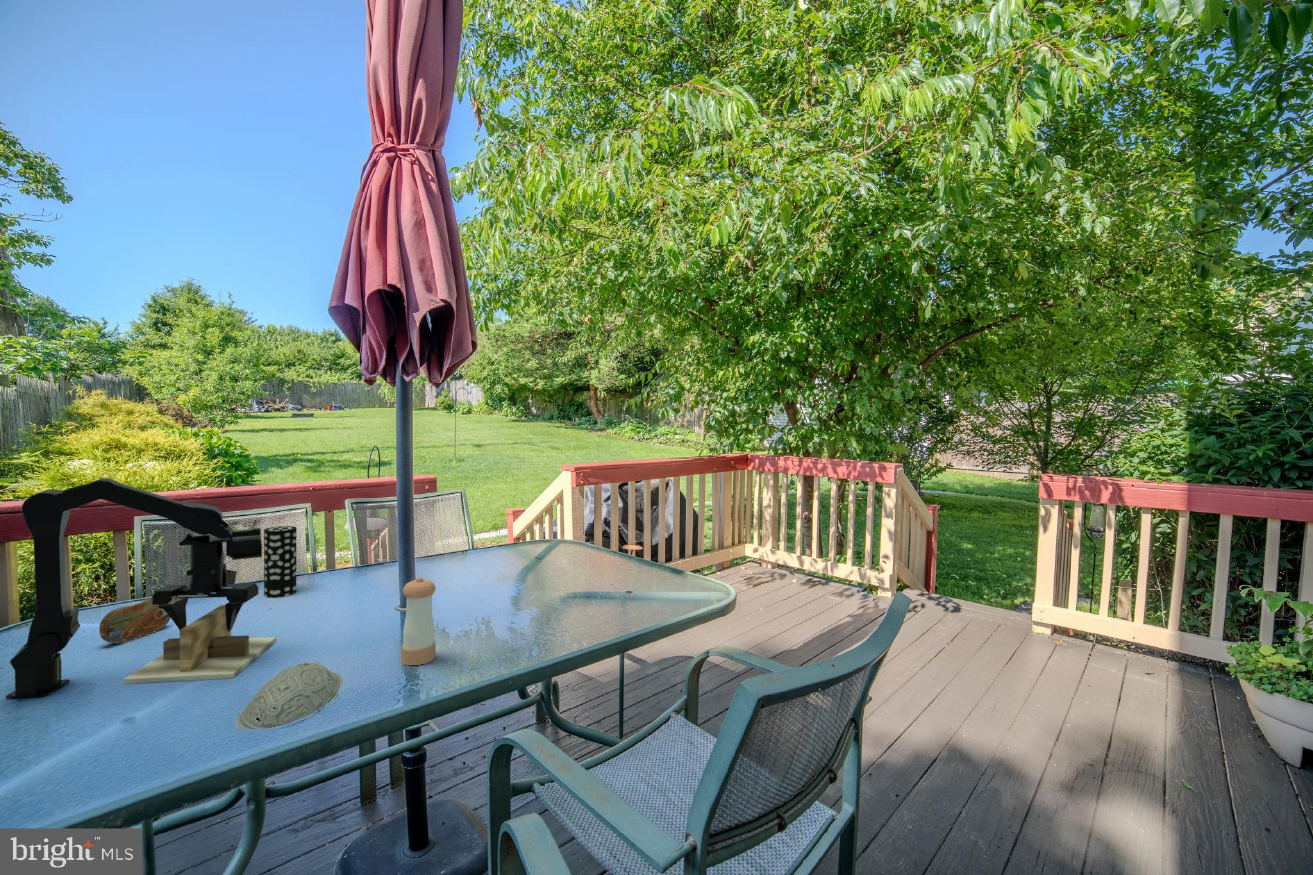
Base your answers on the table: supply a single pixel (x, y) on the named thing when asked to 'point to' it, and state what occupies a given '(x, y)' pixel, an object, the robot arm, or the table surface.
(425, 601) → the pepper shaker
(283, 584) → the white-spotted black cylinder
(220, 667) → the wooden base with bar
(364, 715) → the table surface
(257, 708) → the turtle shell
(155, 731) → the table surface
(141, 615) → the tin
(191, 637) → the oak plate
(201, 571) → the robot arm
